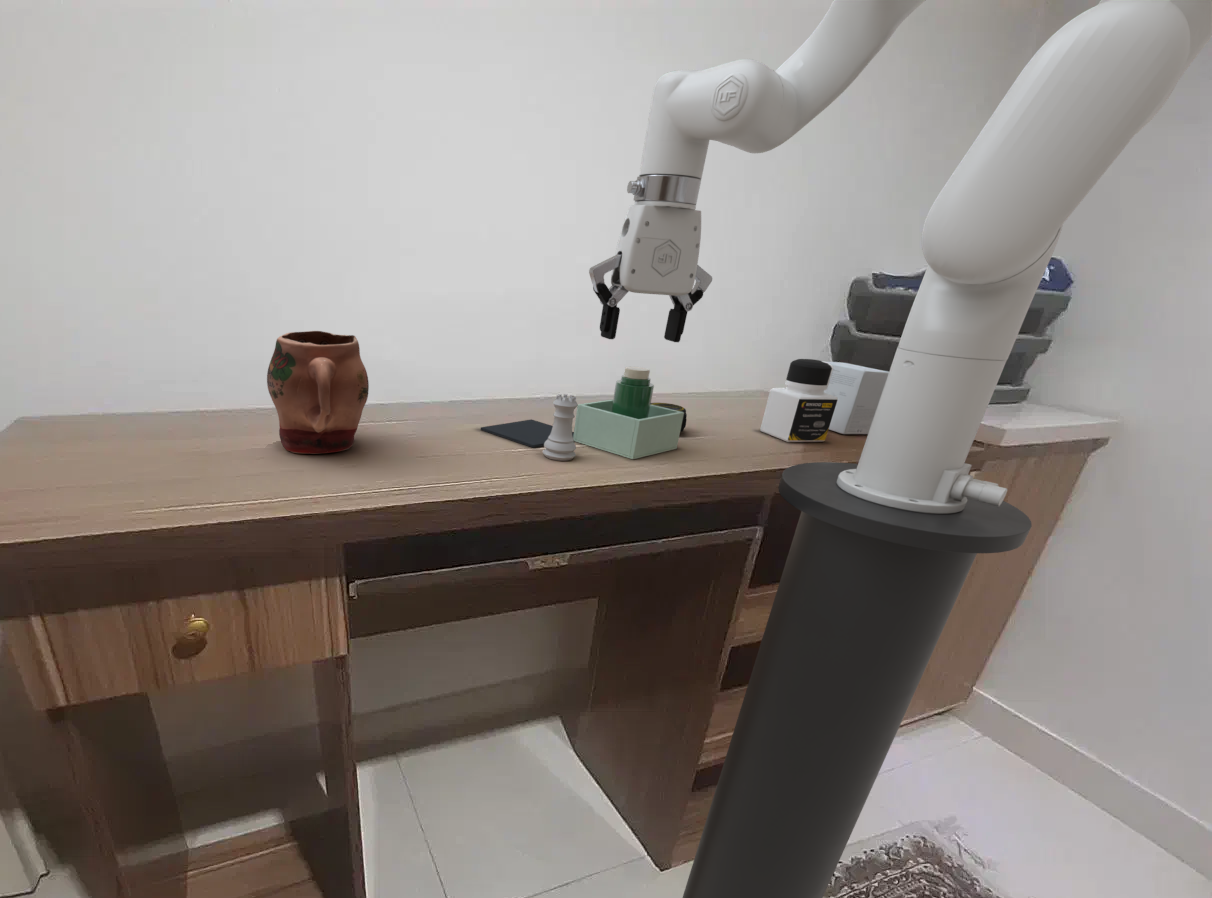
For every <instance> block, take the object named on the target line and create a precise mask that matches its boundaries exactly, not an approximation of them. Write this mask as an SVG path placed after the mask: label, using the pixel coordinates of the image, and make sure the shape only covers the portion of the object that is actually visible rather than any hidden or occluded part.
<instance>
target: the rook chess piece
mask: <svg viewBox="0 0 1212 898" xmlns="http://www.w3.org/2000/svg"><path fill="white" fill-rule="evenodd" d="M552 404H553V406H554V408H555V411H554V412H553V423H552V426H553V427H552V431H551V434H550V436H548V440H546V441H545V443H544V446H543V447H544V449H543V450H542V454H543V456H544V457H545V458H547V459H549V460H553V461H561V462H564V461H566V462H567V461H571V460H573V459H574V458H575V457H576V455H577V454H576V453H575V451H576V450H577V445H576V443H575V441H574V439H573V436H572V432H573V423H574V418H576V415H575V414H574V412H575V410H576V409H577V406H578V404H579V403H578V402H577V396H576V395H573V394H570V395H569V397H568V394H566V393H563V395H562V394H559V393H558V394H556V397H555V399H554V400H553V402H552Z"/></svg>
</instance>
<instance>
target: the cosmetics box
mask: <svg viewBox="0 0 1212 898" xmlns="http://www.w3.org/2000/svg"><path fill="white" fill-rule="evenodd" d="M825 362H828V363H829V364H831V365H832V366H833V371H832V374H831V377H830V381H829V384H828V387H827V390H824V393H826V394H829V395H833V396H836V397H837V398H838V400H837V404H836V407H835V410H834V413H833V416H832V420H831V423H830V426H829V429H828V431H833V432H835V433H838V434H840V435H868V433H869V430H870V427H871V424H872V421H873V418H874V415H875V412H876V409H877V406H878V404H879V401H880V398H881V395H882V392H883V389H884V386H885V383H886V380H887V377H888V374H889V371H888V370H882V369H877V368H873V367H867V366H863V365H858V364H853V363H849V362H842V361H841V362H840V361H839V362H838V361H825Z"/></svg>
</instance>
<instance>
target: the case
mask: <svg viewBox="0 0 1212 898" xmlns="http://www.w3.org/2000/svg"><path fill="white" fill-rule="evenodd" d="M577 404H578V406H577V407H576V413H575V422H574V427H573V428H574V429H573V432H574V435H573V439H574V441H573V442H574V443H575V442H576V443H579V444H583V445H585V446H589V447H592V448H595V449H597V450H600V451H604V452H608V453H611V454H614V455H617V456H620V457H624V458H627V459H630V460H637V459H641V458H644V457H645V458H646V457H648V456H652V455H657V454H661V453H665V452H669V451H673V450H677V449H678V444H679V441H680V440H679V439H680V434H681V432H680V430H681V425H682V421H683V416H684V412H680V411H676V410H672V409H668V408H664V407H659V406H655V405H650V410H649V416H648V418H643V419H636V418H632V417H628V416H624V415H620V414H617V413H613V412H611V411H612V405H613V398H612V399H606V400H599V401H591V402H584V403H577Z"/></svg>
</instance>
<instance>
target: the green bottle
mask: <svg viewBox="0 0 1212 898" xmlns="http://www.w3.org/2000/svg"><path fill="white" fill-rule="evenodd" d="M623 372H624V373H623V375H621V377H620V379H618V380H616V381H615V387H614V392H613V393H614V394H613V398H612V399H613V405H612V411H611V412H613V413H617V414H620V415H624V416H628V417H632V418H636V419H643V418H648V416H649V410H650V405H651V403H652V400H653V394H654V387H655V384H654V383H651V378H650V373H651V369H650V368H647V367H643V366H625V367H624V371H623Z"/></svg>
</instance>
